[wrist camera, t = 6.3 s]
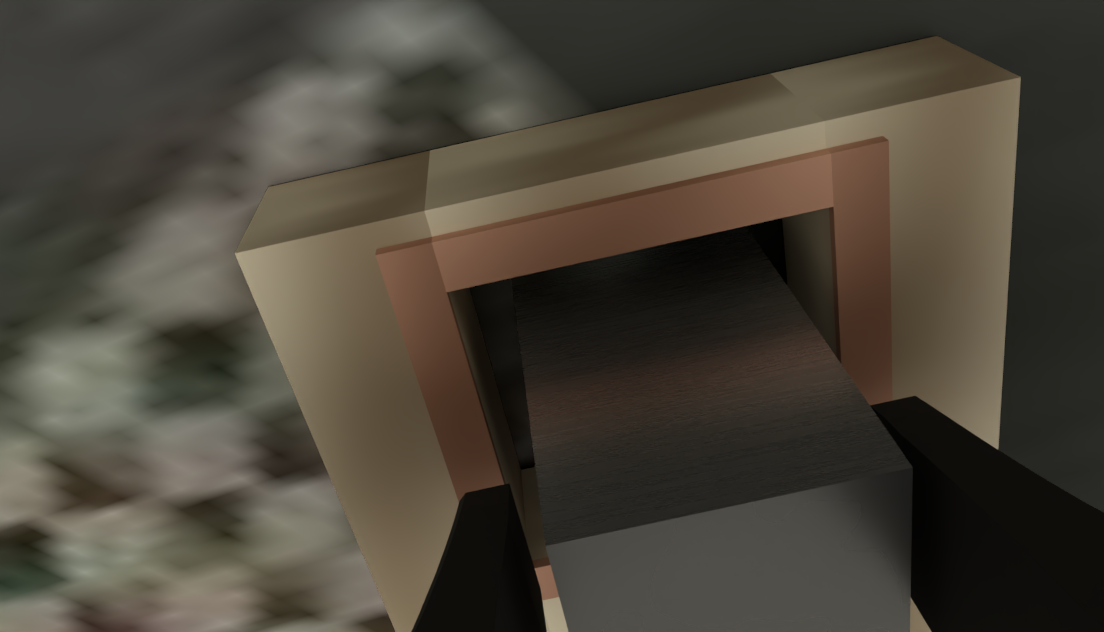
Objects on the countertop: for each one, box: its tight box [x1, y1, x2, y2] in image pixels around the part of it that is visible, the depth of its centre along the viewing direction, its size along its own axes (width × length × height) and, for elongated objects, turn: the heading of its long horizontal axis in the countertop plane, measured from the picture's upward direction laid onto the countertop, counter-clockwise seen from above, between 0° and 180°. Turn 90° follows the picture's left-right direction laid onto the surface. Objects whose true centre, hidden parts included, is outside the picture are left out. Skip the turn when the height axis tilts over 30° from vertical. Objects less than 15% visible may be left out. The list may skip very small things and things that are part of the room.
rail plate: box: [235, 36, 1021, 632], centre depth 18 cm, size 11×18×3 cm, turn 12°
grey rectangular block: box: [511, 226, 913, 632], centre depth 14 cm, size 4×4×7 cm
